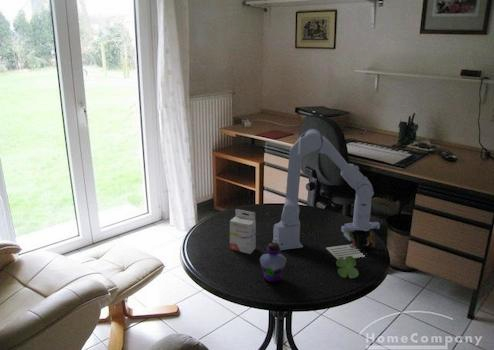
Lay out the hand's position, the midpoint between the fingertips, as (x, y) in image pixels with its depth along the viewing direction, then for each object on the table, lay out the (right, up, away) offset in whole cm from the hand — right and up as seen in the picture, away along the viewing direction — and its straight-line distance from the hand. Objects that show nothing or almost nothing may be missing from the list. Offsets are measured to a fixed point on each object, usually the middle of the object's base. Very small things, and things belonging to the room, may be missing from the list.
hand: (358, 248), depth 149 cm
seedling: (-7, -5, -12) cm, 15 cm away
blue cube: (0, +2, +10) cm, 11 cm away
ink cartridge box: (-42, -1, +1) cm, 43 cm away
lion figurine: (+1, 0, +3) cm, 3 cm away
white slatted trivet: (-5, -1, -1) cm, 5 cm away
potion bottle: (-33, -6, -19) cm, 38 cm away
